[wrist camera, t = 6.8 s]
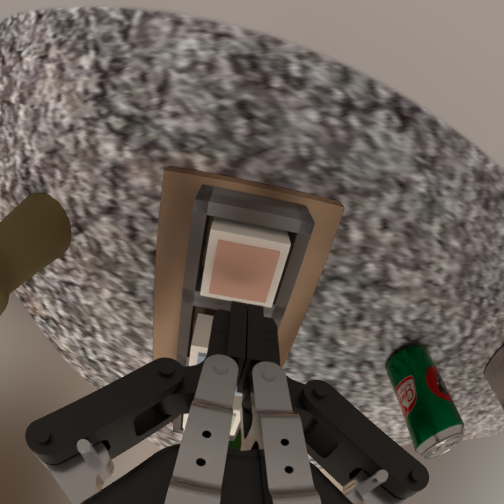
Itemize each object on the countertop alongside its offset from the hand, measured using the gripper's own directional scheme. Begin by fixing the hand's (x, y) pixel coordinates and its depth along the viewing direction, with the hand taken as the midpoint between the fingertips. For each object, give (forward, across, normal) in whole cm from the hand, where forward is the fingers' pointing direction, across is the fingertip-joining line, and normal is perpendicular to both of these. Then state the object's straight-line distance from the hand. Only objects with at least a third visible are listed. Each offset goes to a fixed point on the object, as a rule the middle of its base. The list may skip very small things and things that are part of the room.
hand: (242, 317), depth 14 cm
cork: (+9, +17, +2) cm, 19 cm away
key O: (+7, 0, 0) cm, 7 cm away
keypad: (+9, 0, +9) cm, 13 cm away
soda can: (+9, -20, +10) cm, 24 cm away
